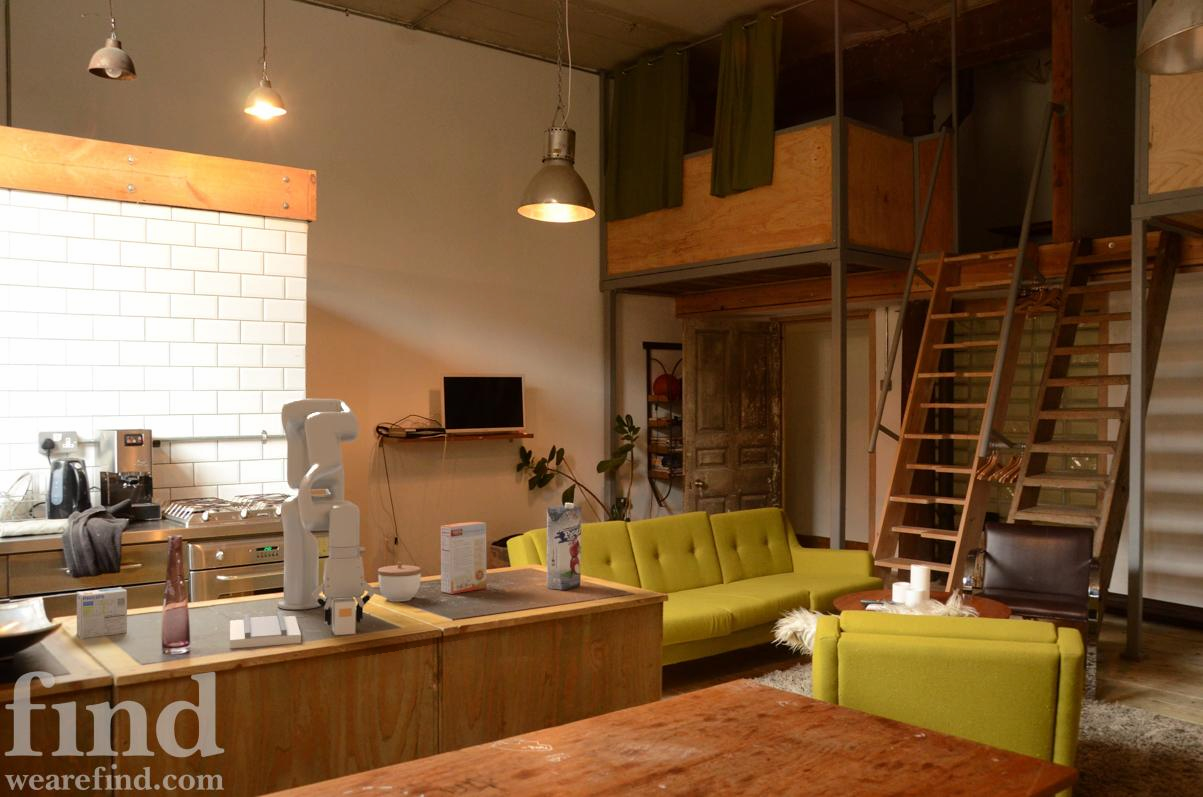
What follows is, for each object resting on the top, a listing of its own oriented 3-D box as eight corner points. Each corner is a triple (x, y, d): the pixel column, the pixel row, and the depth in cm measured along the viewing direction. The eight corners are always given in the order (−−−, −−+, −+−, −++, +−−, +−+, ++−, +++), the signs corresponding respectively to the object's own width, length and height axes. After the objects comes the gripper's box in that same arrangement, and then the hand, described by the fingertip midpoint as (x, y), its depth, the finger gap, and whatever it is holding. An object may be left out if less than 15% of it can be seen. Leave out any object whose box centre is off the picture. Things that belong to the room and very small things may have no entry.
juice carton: (542, 588, 302) (543, 503, 302) (561, 583, 311) (561, 500, 311) (566, 591, 297) (566, 504, 297) (584, 586, 306) (584, 502, 306)
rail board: (229, 628, 246) (230, 615, 246) (295, 623, 251) (295, 610, 252) (229, 648, 225) (230, 634, 225) (300, 642, 231) (300, 628, 231)
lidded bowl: (414, 593, 293) (415, 557, 293) (425, 601, 281) (426, 563, 281) (373, 597, 287) (373, 560, 287) (382, 605, 276) (383, 566, 276)
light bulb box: (121, 628, 245) (122, 586, 246) (128, 633, 240) (128, 590, 240) (75, 634, 239) (75, 591, 239) (80, 639, 234) (80, 595, 234)
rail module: (332, 629, 246) (332, 598, 246) (352, 627, 248) (352, 596, 248) (334, 635, 239) (335, 603, 239) (355, 633, 241) (355, 601, 241)
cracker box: (475, 586, 305) (475, 520, 306) (487, 588, 301) (487, 522, 301) (439, 592, 295) (439, 524, 296) (451, 594, 291) (451, 526, 291)
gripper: (376, 549, 250) (376, 617, 250) (307, 552, 244) (307, 622, 244) (380, 553, 243) (380, 623, 243) (309, 556, 237) (309, 628, 237)
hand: (343, 622), depth 243 cm, fingers open, 6 cm apart
